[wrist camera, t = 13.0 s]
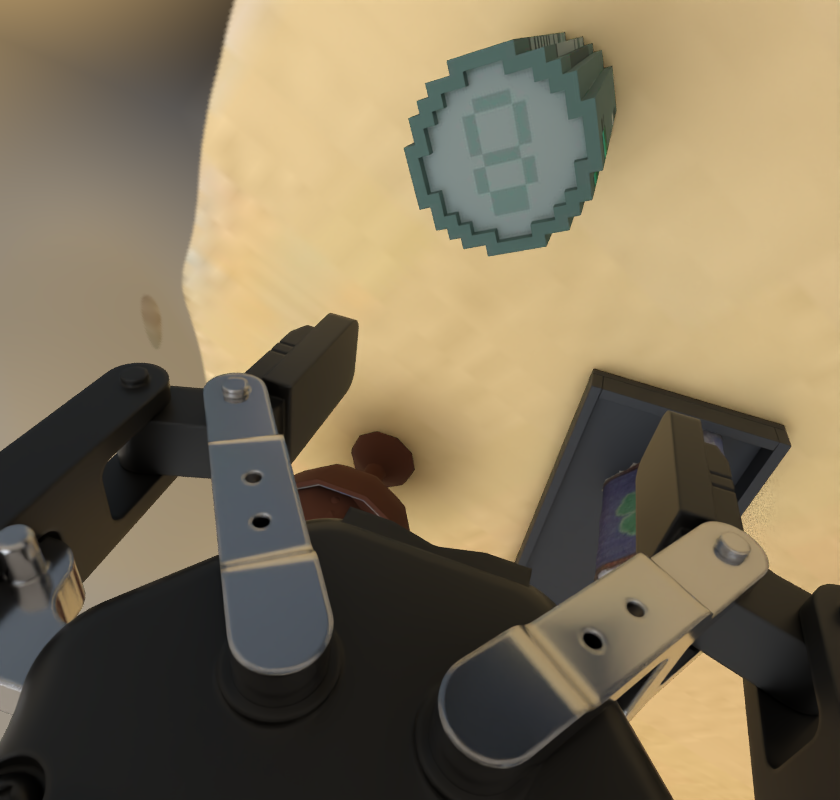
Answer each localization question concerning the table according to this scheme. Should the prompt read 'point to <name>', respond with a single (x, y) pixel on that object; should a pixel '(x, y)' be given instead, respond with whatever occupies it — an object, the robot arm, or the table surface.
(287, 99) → the table surface
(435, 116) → the can
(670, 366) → the table surface
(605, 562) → the flask
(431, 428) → the table surface
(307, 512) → the ice cream bowl
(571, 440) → the tray
